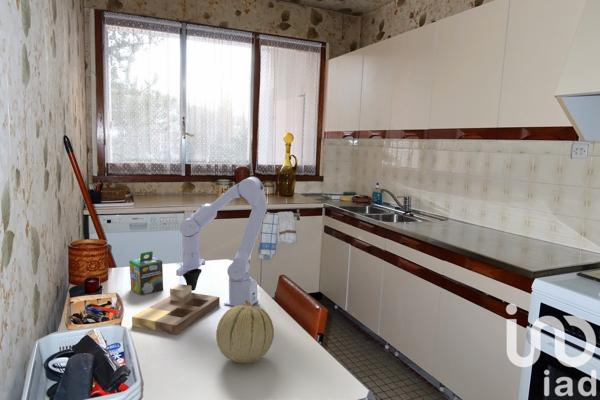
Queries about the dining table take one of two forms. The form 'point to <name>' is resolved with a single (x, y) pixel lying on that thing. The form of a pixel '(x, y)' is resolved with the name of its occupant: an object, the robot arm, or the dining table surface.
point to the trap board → (175, 313)
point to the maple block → (180, 292)
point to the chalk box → (146, 274)
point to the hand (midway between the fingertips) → (191, 289)
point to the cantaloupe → (245, 333)
